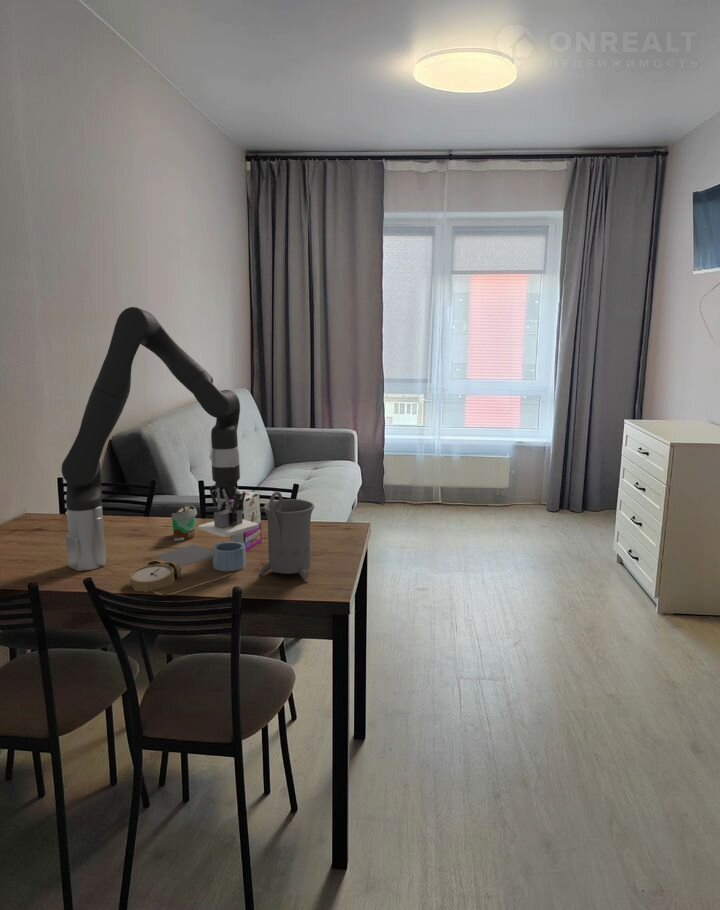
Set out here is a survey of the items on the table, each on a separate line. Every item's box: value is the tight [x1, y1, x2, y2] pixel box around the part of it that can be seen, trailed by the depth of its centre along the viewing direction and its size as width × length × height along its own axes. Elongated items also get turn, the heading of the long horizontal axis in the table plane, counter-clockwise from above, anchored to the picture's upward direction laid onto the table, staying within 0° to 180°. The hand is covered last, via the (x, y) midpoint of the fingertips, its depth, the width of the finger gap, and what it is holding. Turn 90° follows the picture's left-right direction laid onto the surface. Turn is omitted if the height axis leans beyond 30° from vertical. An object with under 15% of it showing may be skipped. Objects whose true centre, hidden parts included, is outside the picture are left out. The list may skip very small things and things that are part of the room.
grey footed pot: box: [258, 490, 315, 583], centre depth 183 cm, size 19×15×25 cm
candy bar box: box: [229, 491, 263, 553], centre depth 207 cm, size 11×5×16 cm, turn 161°
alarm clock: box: [126, 559, 182, 593], centre depth 180 cm, size 11×5×15 cm
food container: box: [171, 503, 198, 543], centre depth 216 cm, size 12×6×10 cm, turn 179°
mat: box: [154, 544, 213, 568], centre depth 200 cm, size 14×14×1 cm
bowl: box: [211, 540, 247, 573], centre depth 191 cm, size 9×9×6 cm
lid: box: [197, 508, 259, 538], centre depth 189 cm, size 12×12×5 cm
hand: (228, 523), depth 189 cm, fingers closed on lid, 3 cm apart
